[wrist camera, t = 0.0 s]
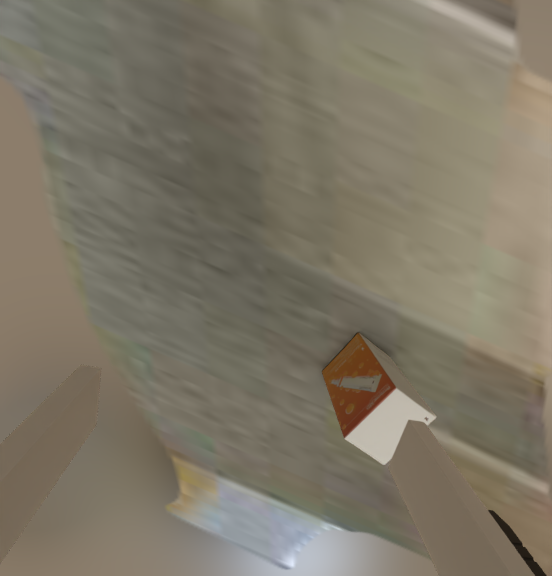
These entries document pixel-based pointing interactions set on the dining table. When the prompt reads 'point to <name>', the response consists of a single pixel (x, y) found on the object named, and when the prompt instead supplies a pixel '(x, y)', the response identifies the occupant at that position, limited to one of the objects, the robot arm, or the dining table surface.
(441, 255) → the dining table surface
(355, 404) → the small box
